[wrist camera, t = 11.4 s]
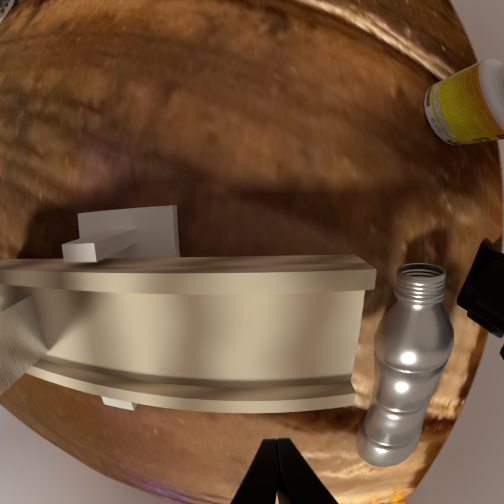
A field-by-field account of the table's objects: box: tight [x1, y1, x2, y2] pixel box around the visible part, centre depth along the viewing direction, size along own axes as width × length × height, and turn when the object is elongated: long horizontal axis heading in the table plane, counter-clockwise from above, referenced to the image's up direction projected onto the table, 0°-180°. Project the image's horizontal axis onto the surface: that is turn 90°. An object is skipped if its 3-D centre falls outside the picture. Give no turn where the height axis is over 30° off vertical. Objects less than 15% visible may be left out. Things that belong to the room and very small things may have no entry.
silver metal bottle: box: [356, 263, 454, 467], centre depth 18 cm, size 6×7×20 cm
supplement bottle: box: [424, 58, 504, 146], centre depth 12 cm, size 6×6×10 cm
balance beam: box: [0, 254, 377, 413], centre depth 16 cm, size 30×8×6 cm, turn 91°
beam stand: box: [62, 205, 180, 410], centre depth 17 cm, size 8×14×7 cm, turn 1°
